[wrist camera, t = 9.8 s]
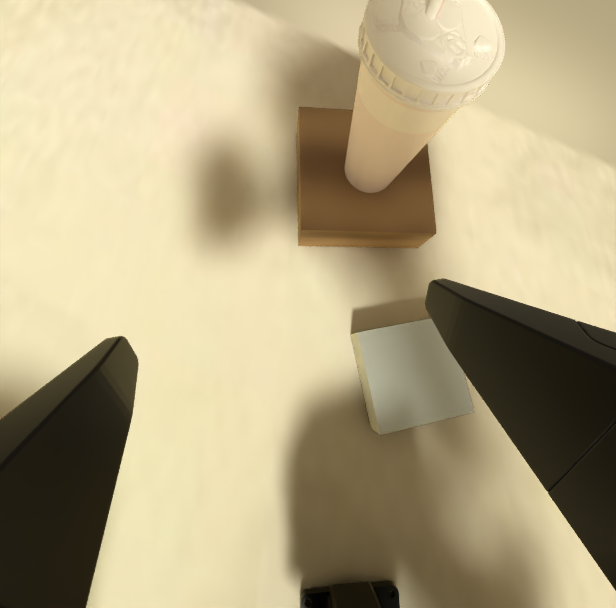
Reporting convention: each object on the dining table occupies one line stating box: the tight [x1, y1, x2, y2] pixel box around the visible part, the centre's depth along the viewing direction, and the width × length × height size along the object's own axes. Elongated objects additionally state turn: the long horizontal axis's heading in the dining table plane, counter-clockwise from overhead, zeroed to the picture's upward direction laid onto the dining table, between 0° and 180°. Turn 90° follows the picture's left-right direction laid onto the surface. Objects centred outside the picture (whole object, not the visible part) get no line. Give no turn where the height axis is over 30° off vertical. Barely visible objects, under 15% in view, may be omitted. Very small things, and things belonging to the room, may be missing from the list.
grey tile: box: [351, 318, 474, 435], centre depth 21 cm, size 7×7×2 cm
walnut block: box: [297, 107, 436, 248], centre depth 23 cm, size 10×10×3 cm
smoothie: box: [345, 0, 505, 193], centre depth 15 cm, size 6×6×14 cm
